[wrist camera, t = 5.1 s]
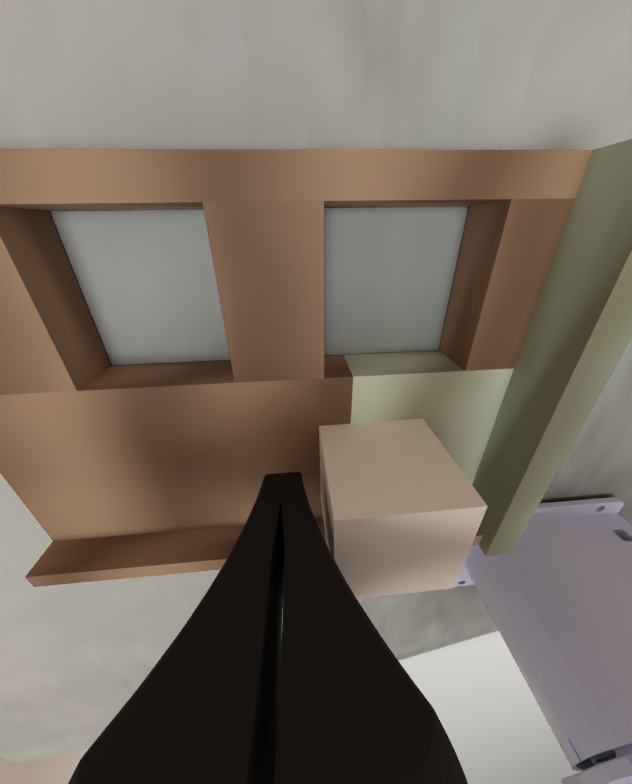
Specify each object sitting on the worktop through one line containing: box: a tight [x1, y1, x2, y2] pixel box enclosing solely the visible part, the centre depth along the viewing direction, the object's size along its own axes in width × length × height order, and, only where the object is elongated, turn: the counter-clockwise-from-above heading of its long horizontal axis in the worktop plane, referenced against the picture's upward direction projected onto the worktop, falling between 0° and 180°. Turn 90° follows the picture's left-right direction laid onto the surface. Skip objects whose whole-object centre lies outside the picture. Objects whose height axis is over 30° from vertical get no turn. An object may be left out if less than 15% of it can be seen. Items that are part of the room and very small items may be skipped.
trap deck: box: [0, 139, 632, 587], centre depth 10 cm, size 20×14×4 cm
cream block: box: [319, 418, 488, 599], centre depth 10 cm, size 4×4×4 cm
